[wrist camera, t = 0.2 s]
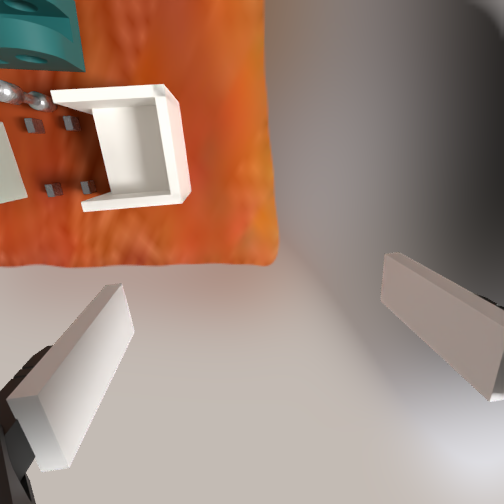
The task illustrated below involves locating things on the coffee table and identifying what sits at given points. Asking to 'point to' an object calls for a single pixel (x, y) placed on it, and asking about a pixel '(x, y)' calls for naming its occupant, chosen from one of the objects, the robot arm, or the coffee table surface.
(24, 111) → the coffee table surface
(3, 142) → the door
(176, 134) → the cabinet
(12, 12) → the bracket
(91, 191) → the small parts
